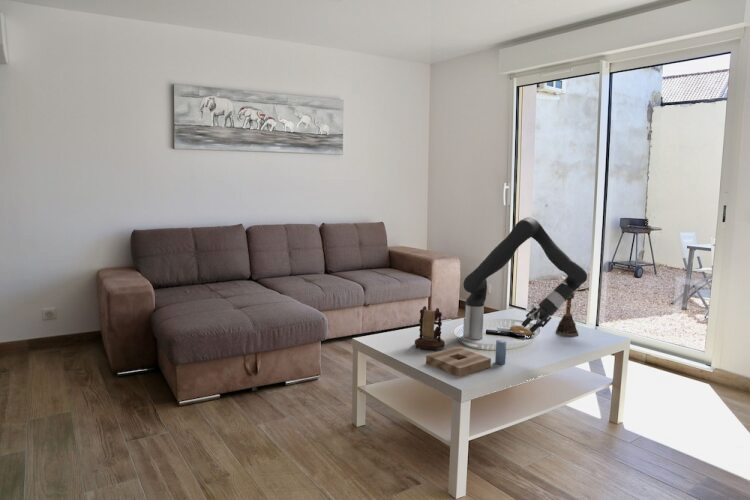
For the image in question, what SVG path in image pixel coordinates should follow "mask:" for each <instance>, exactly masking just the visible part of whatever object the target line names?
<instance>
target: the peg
mask: <svg viewBox="0 0 750 500" xmlns="http://www.w3.org/2000/svg"><path fill="white" fill-rule="evenodd" d="M506 353H507V341H506V340H503V339H498V340H496V342H495V359H494V361H495V362H494V363H495V364H497V365H501V366H502V365H506V359H507V358H506V356H507V354H506Z"/></svg>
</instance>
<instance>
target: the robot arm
mask: <svg viewBox="0 0 750 500" xmlns="http://www.w3.org/2000/svg"><path fill="white" fill-rule="evenodd" d="M531 238H532V239H533V240H535V241H536V243H538V244H539V246H540V247H541V249H542V250H543V252H544V253H545V256H546V257H547V258H548V260H549V261H550V262H551V264H553V265H554V266H555V268H556V269H558V270H559V271H561V272H563V273H564V274H565V275H566V276H567V275H568V276H567V277H566V276H565V278H566V279H565V280H564V281H563V280H562V281H561V282H560V283H559V284H558V285H557V286H556V287H555V288H554V289H553V290H552V291H551V292H550V293H548V294H547V295H546V296H545V297H544V298H543V299H542V300H541V301H540V302H539V304H538V308H537V307H536V306H534V307H533V308H532V309H531V310H530V311H528V312H527V314H525V317H526V318H525V319H524V321H523V322H521V325H520V326H522V327H524V328H526V327H528V325H529V324H530V323H531V322H532V321H535V323H534V324H533V325H532V326H531V327H530V328H529V329H528V330H530V331H531V332H532V333H534V332H536V331H537V330H538V329H539V328H545V326H546V325H547V324H548V323H549V322H550V321H551V320H552V316H554V314H555V313H557V311H559V309H560V308H561V307H562V306H563V305H564V303H565V302H567V299H568V298H569V297H570V296H571V295H572V293H574V291H575V290H576V289H577V288H578V287H579V286H581V285H582V284H583V285H584V283H585V282H586V281H587V279H588V274H587V272H586V271H585V269H584V268H583V267H582V266H581V265H579V264H578V263H577V262H576V261H574V260H572V259H571V258H570V257H569V256H568V255H567V254H566V253H565V252H564V251H563V250H562V249H561V248H560V246H558V245H557V244H556V242H555V241H554V240H553V239H552V238H551V237H550V235H549V234H548V233H547V231H546V230H545V228H544V227H543V226H542V225H541V223H540V222H539V221H538V219H536V218H535V217H532V216H528V217H527V216H526V217H524V218H523V219H520V220H519V221H518V222H517V223H516V224H515V225H514V226H513V228H512V229H511V230H510V231H509V233H508V235H507V236H506V237H505V238H504V239H503V240H502V241H501V242H499V243H498V244H497V246H496V247H494V248H493V250H492V251H490V252H489V254H488V255H487V256H486V257H485V259H484V260H483V261H482V262H481V263H480V264H479V265H478V266H477V267H476V268H475V269H474V270H473V271H471V273H469V274H468V275H466V277H465V278H464V280H463V289H464V291H465V292H467V293H470V294H469V296H468V297H467V298H466V300H465V317H463V326H462V327H463V331H462V336H463V337H465V338H466V339H469V340H481V339H483V333H484V316H485V315H484V313H485V312H484V311H485V302H486V299H487V298H486V297H487V291H488V289H487V288H488V282H487V279H488V278H489V277H490V276H492V275H494V274H495V273H497V272H499V271H500V270H501V269H503V268H504V267H505V266H506V265H507V264H508V263H509V262H510V260H511V259H512V258H513V256H514V255H515V253H516V252H517V250H518V249H519V248H520V247H521V246H522V244H523V243H525V242H526V241H527V240H529V239H531Z"/></svg>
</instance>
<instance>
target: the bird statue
mask: <svg viewBox="0 0 750 500" xmlns="http://www.w3.org/2000/svg"><path fill="white" fill-rule="evenodd" d="M567 276H568V275H567V274H566V276H563V275H562V276H560V278H561V280H562V282H563V281H564V280H565V279H566V277H567ZM585 291H588V292H589V291H590V287H587V286H585V285H584V283H583V284H582V285H581V286H579V287H578V288H577V289H576V290H575V291H574V292H573V293H572V295H571V296H570V297H569V298H568V299H567V300H566V305H565V307H566V308H565V313H563V315H562V318H561V319H560V321H559V322H558V325H557V326H556V329H555V334H556V335H560V336H562V337H570V338H573V337H577V336H579V331H578V330H577V327H576V325H577V324H576V322H575V320H574V319H573V314H572V313H571V307H572V300H573V299H574V297H575V294H576V292H577V293H578V292H580V293H581V292H585Z"/></svg>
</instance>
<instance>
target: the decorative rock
mask: <svg viewBox="0 0 750 500" xmlns="http://www.w3.org/2000/svg"><path fill="white" fill-rule="evenodd" d="M509 330H510V331H513V332H517V333H520V335H522V334H525V335H526V336H528V337H529V336H530V338H532V337H533V336H534V335H535V333H532V332H531V331H530V330H529V329H528V328H526V327H523V326H522V325H512V326H510V327H509V329H508V331H509ZM510 331H509V332H510ZM531 336H532V337H531Z"/></svg>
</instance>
